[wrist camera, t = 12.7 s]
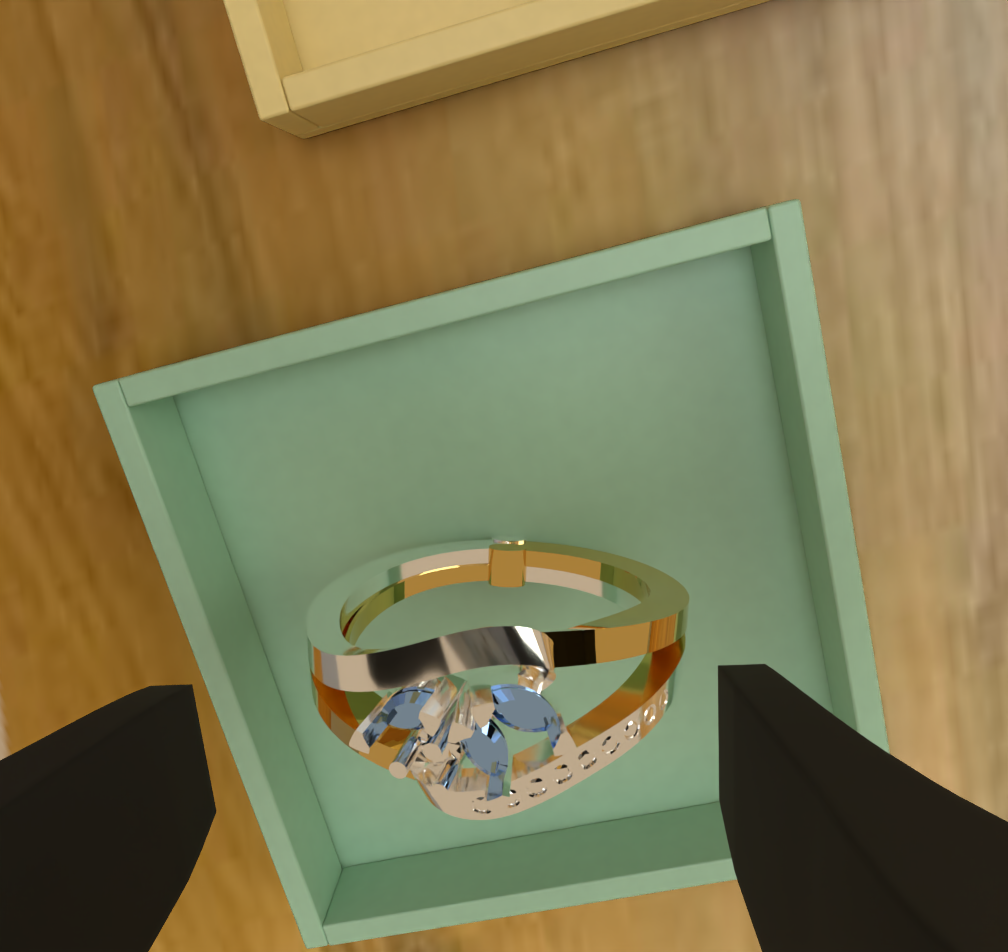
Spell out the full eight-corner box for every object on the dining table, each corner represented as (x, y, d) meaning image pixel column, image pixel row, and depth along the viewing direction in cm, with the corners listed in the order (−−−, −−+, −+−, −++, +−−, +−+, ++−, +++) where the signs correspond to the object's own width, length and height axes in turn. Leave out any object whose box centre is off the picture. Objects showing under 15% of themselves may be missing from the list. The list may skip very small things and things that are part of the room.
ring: (362, 609, 20) (235, 838, 12) (359, 479, 19) (219, 636, 11) (656, 623, 19) (720, 870, 12) (666, 491, 18) (742, 663, 11)
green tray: (333, 872, 22) (305, 950, 20) (151, 369, 19) (89, 385, 17) (864, 780, 21) (906, 852, 18) (765, 205, 17) (800, 197, 15)
